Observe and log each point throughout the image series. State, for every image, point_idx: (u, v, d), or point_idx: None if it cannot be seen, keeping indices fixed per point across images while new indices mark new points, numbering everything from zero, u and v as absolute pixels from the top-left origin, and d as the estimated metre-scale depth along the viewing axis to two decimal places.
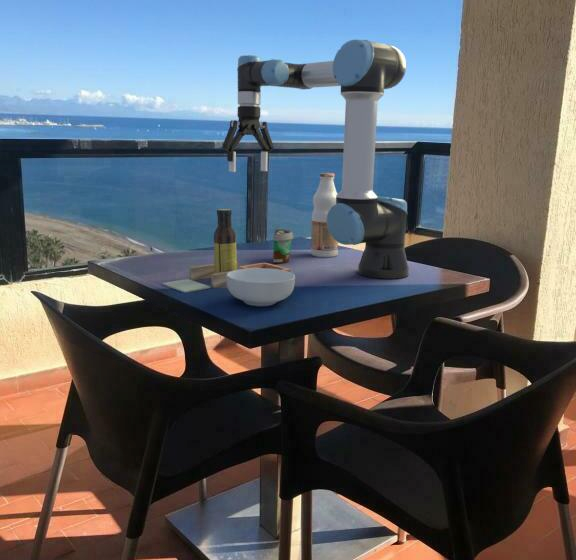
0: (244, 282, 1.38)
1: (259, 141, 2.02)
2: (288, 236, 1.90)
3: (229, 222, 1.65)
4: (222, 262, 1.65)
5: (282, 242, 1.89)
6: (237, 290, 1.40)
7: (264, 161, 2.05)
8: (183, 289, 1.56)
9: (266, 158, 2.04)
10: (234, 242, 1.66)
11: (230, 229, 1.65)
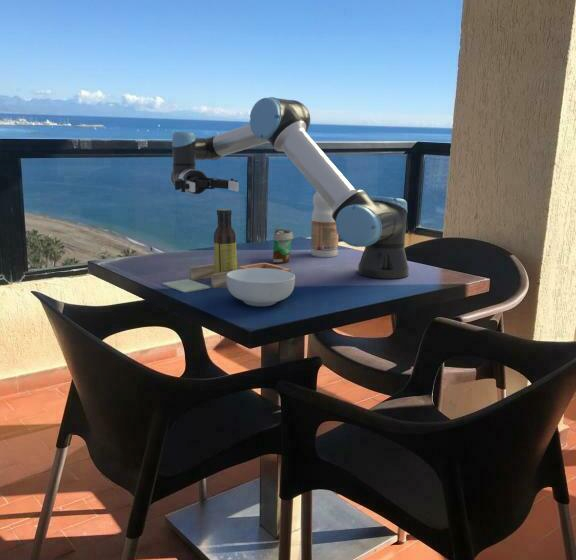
0: (244, 282, 1.38)
1: (219, 184, 1.87)
2: (288, 236, 1.90)
3: (229, 222, 1.65)
4: (222, 262, 1.65)
5: (282, 242, 1.89)
6: (237, 290, 1.40)
7: (232, 183, 1.82)
8: (183, 289, 1.56)
9: None
10: (234, 242, 1.66)
11: (230, 229, 1.65)
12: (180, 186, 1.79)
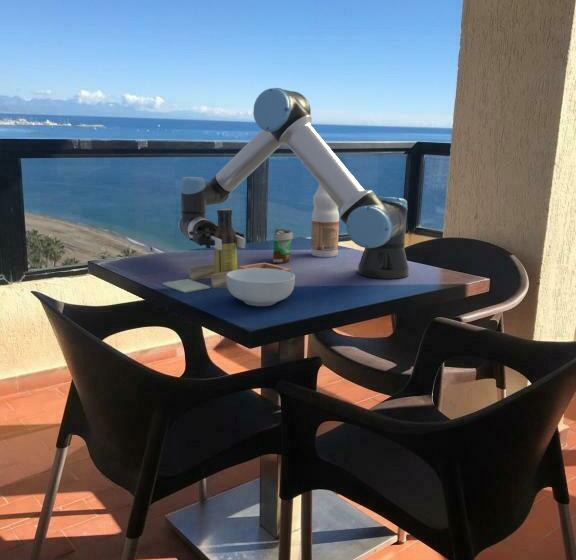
0: (244, 282, 1.38)
1: None
2: (288, 236, 1.90)
3: (229, 222, 1.65)
4: (222, 261, 1.65)
5: (282, 242, 1.89)
6: (237, 290, 1.40)
7: (238, 239, 1.66)
8: (183, 289, 1.56)
9: (237, 236, 1.67)
10: (234, 242, 1.66)
11: (230, 229, 1.65)
12: (205, 242, 1.66)
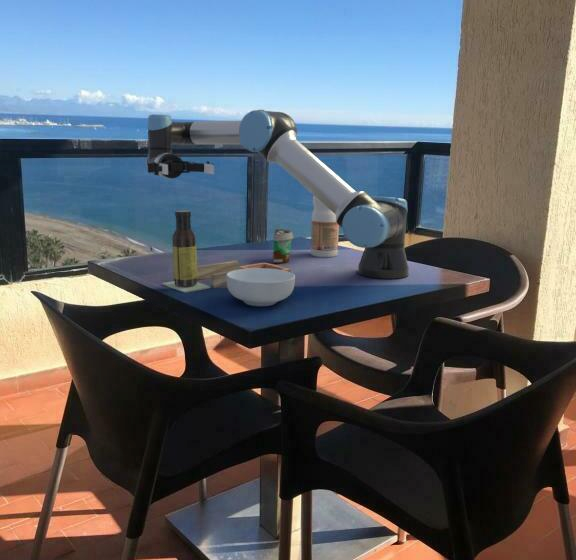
0: (244, 282, 1.38)
1: (194, 168, 1.80)
2: (288, 236, 1.90)
3: (188, 224, 1.56)
4: (180, 266, 1.56)
5: (282, 242, 1.89)
6: (237, 290, 1.40)
7: (207, 166, 1.75)
8: (183, 289, 1.56)
9: (207, 164, 1.76)
10: (194, 245, 1.57)
11: (189, 232, 1.56)
12: (153, 169, 1.72)
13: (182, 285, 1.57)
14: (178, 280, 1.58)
